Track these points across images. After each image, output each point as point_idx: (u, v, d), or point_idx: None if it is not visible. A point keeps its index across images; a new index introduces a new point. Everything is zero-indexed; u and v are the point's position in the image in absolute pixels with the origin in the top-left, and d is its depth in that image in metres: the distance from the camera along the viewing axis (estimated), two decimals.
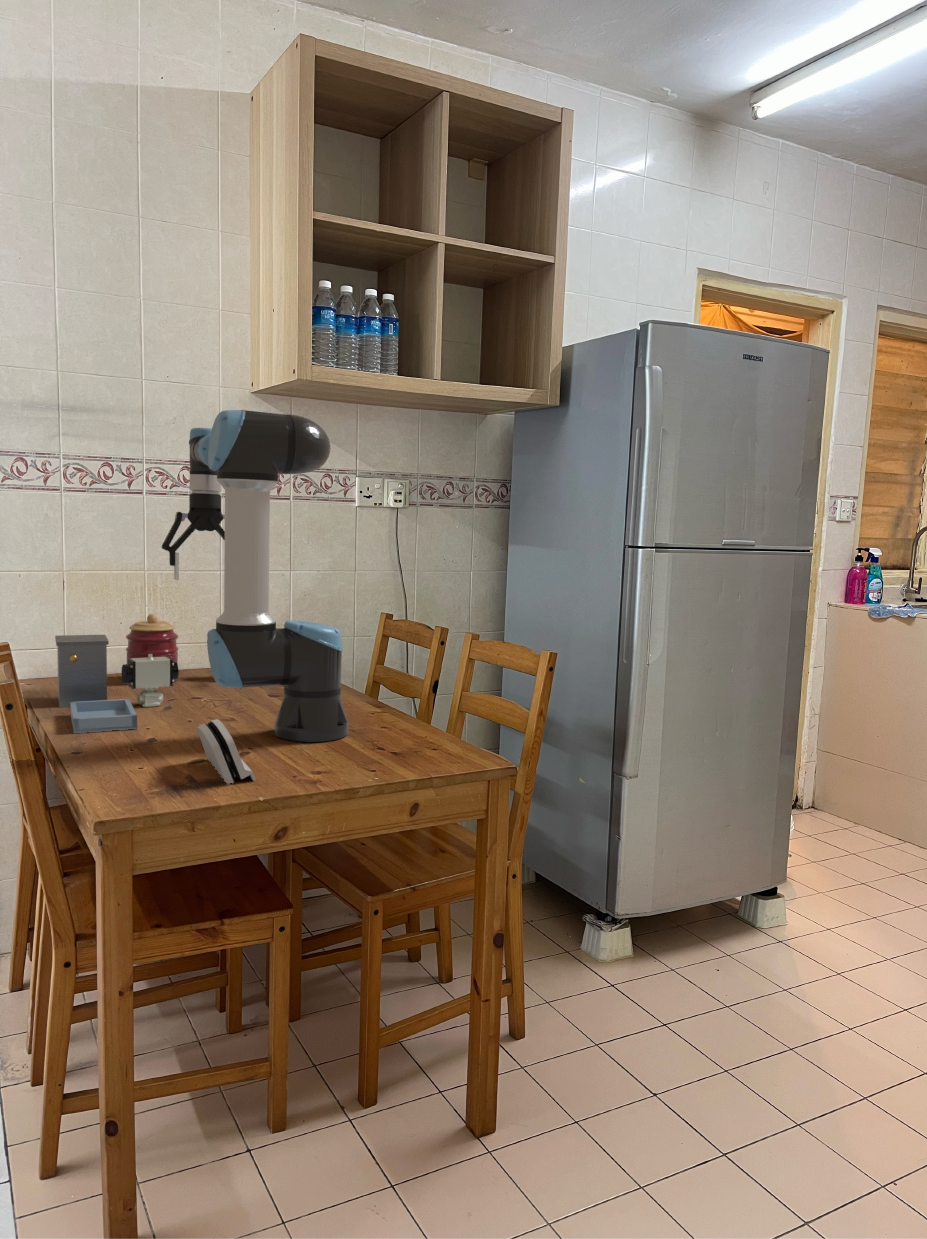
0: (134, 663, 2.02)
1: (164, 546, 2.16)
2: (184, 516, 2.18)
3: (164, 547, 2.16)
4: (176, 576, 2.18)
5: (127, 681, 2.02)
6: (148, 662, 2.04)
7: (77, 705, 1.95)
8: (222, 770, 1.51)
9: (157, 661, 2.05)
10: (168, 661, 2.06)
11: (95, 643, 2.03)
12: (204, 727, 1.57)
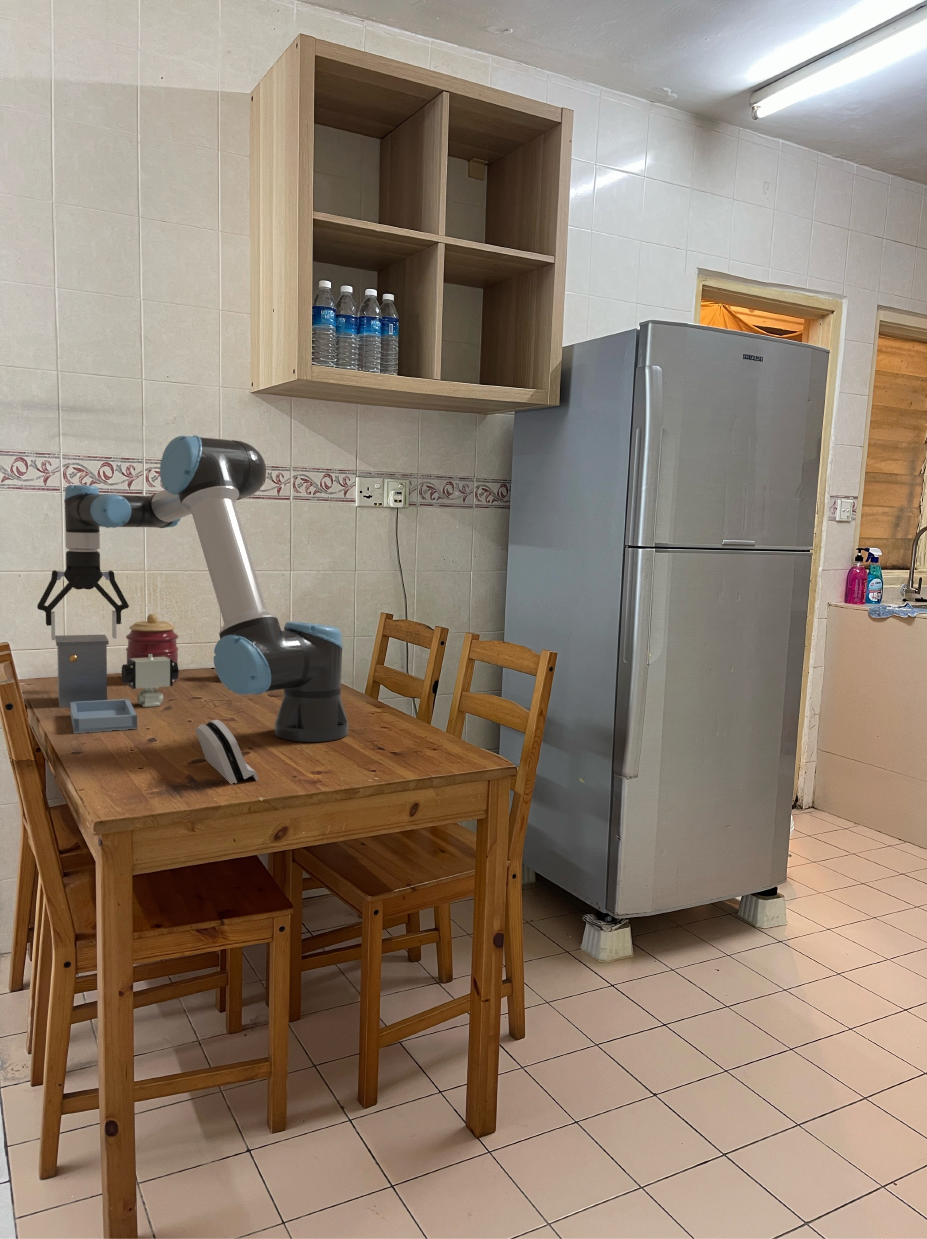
0: (134, 663, 2.02)
1: (39, 606, 2.11)
2: (60, 575, 2.13)
3: (39, 607, 2.11)
4: (52, 636, 2.13)
5: (127, 681, 2.02)
6: (148, 662, 2.04)
7: (77, 705, 1.95)
8: (225, 770, 1.51)
9: (157, 661, 2.05)
10: (168, 661, 2.06)
11: (95, 643, 2.03)
12: (205, 727, 1.57)
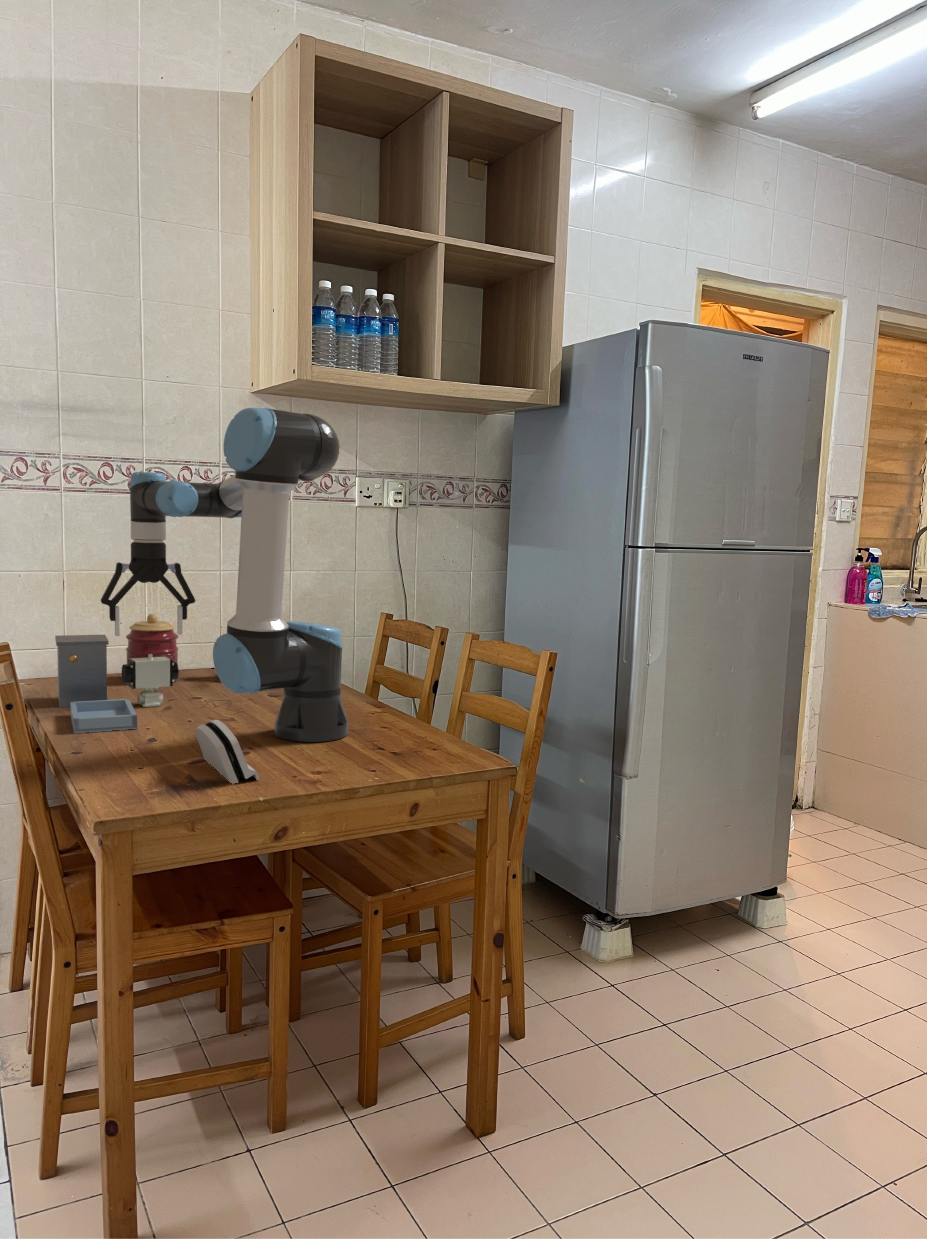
0: (134, 663, 2.02)
1: (103, 600, 2.00)
2: (125, 567, 2.01)
3: (103, 601, 2.00)
4: (116, 632, 2.02)
5: (127, 681, 2.02)
6: (148, 662, 2.04)
7: (77, 705, 1.95)
8: (227, 770, 1.51)
9: (157, 661, 2.05)
10: (168, 661, 2.06)
11: (95, 643, 2.03)
12: (205, 728, 1.57)
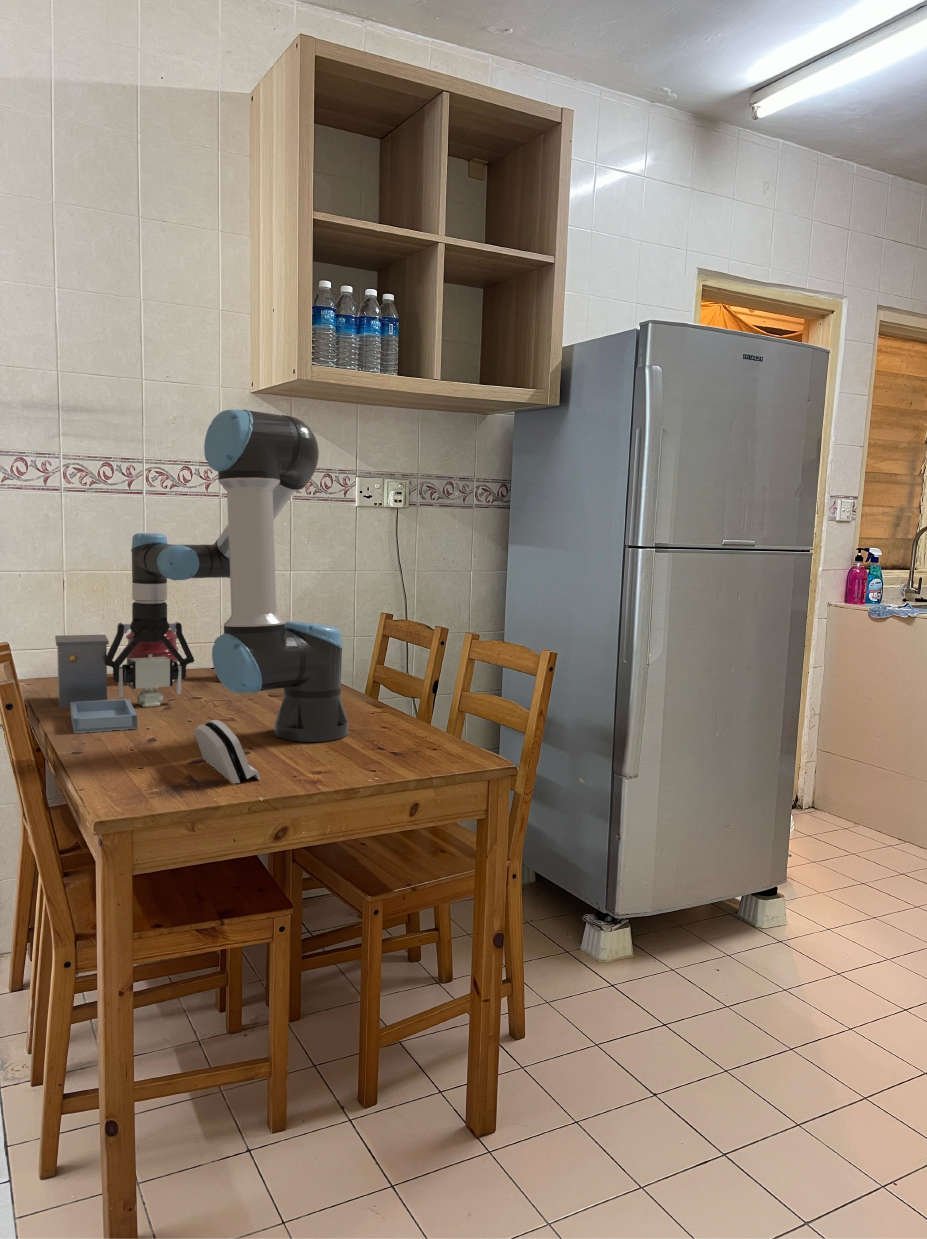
0: (134, 663, 2.02)
1: (106, 662, 2.01)
2: (126, 628, 2.03)
3: (106, 663, 2.01)
4: (120, 693, 2.03)
5: (127, 681, 2.02)
6: (148, 662, 2.04)
7: (77, 705, 1.95)
8: (228, 770, 1.51)
9: (157, 661, 2.05)
10: (168, 661, 2.06)
11: (95, 643, 2.03)
12: (205, 728, 1.57)
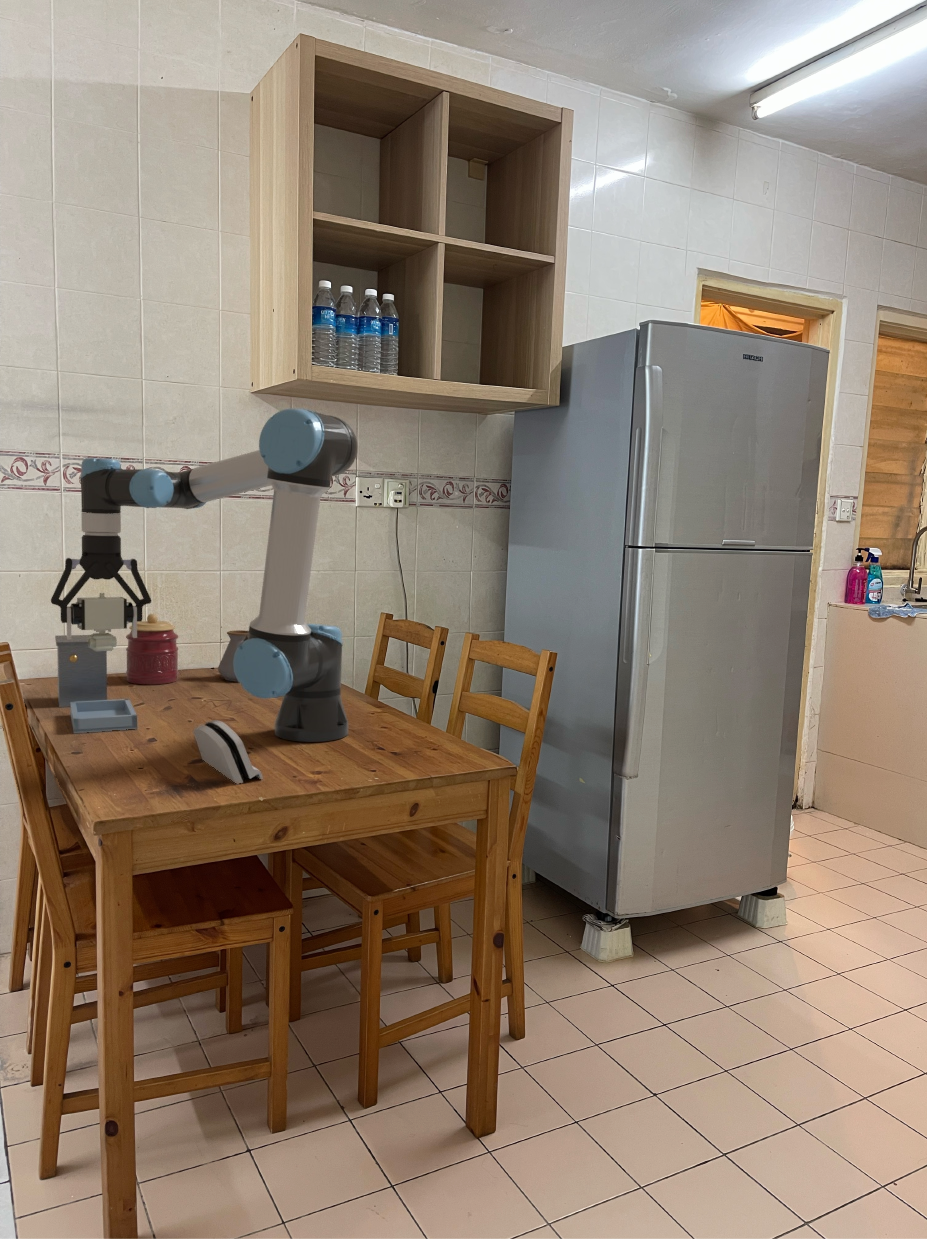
0: (83, 601, 1.83)
1: (53, 600, 1.82)
2: (75, 563, 1.84)
3: (53, 601, 1.82)
4: (68, 635, 1.84)
5: (75, 621, 1.83)
6: (99, 601, 1.85)
7: (77, 705, 1.95)
8: (231, 770, 1.51)
9: (109, 600, 1.86)
10: (122, 601, 1.87)
11: None
12: (206, 728, 1.56)
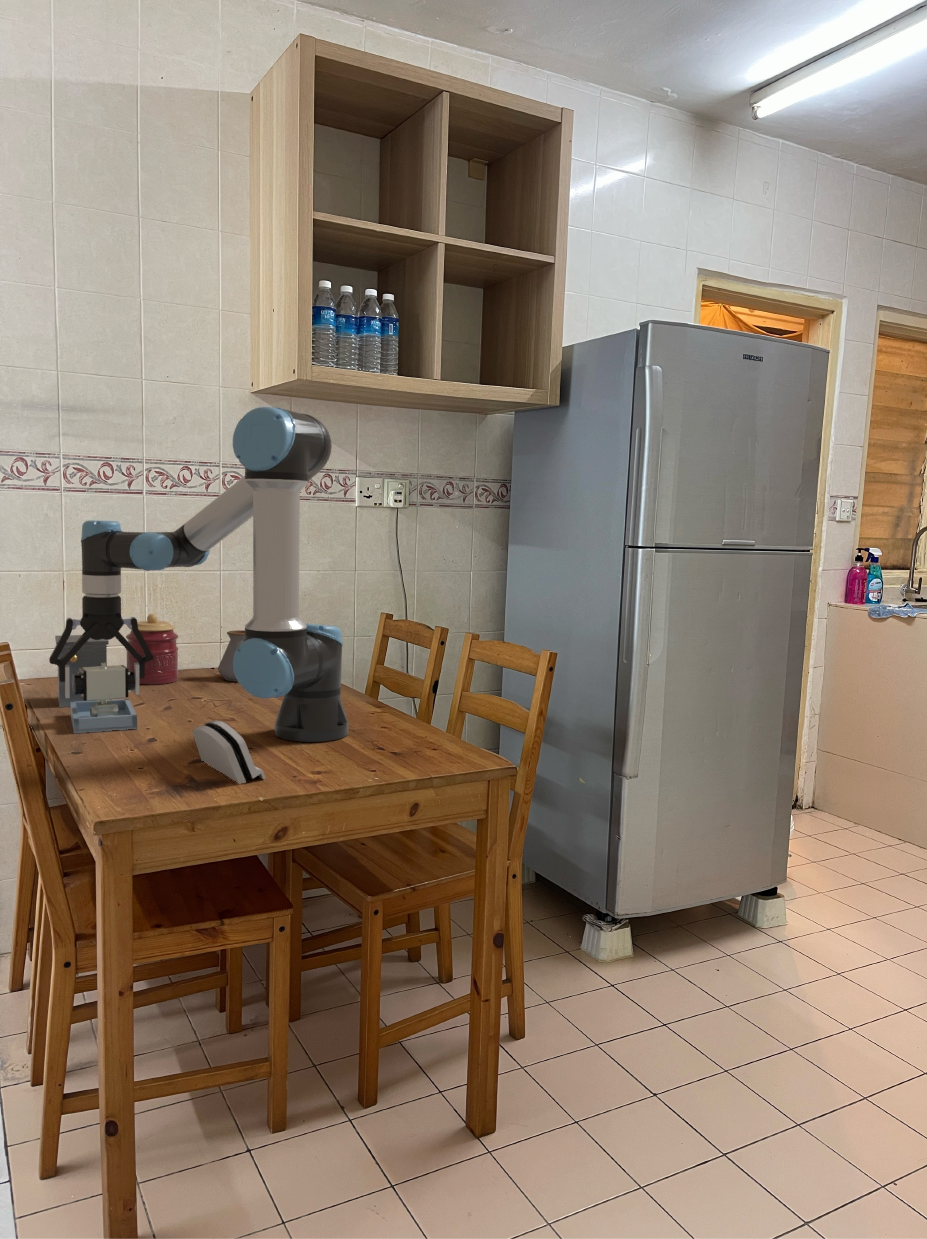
0: (85, 673, 1.84)
1: (51, 660, 1.83)
2: (75, 623, 1.85)
3: (51, 661, 1.83)
4: (66, 694, 1.86)
5: (77, 692, 1.85)
6: (101, 671, 1.86)
7: (77, 705, 1.95)
8: (234, 770, 1.51)
9: (111, 670, 1.87)
10: (123, 670, 1.89)
11: (95, 643, 2.03)
12: (207, 728, 1.56)
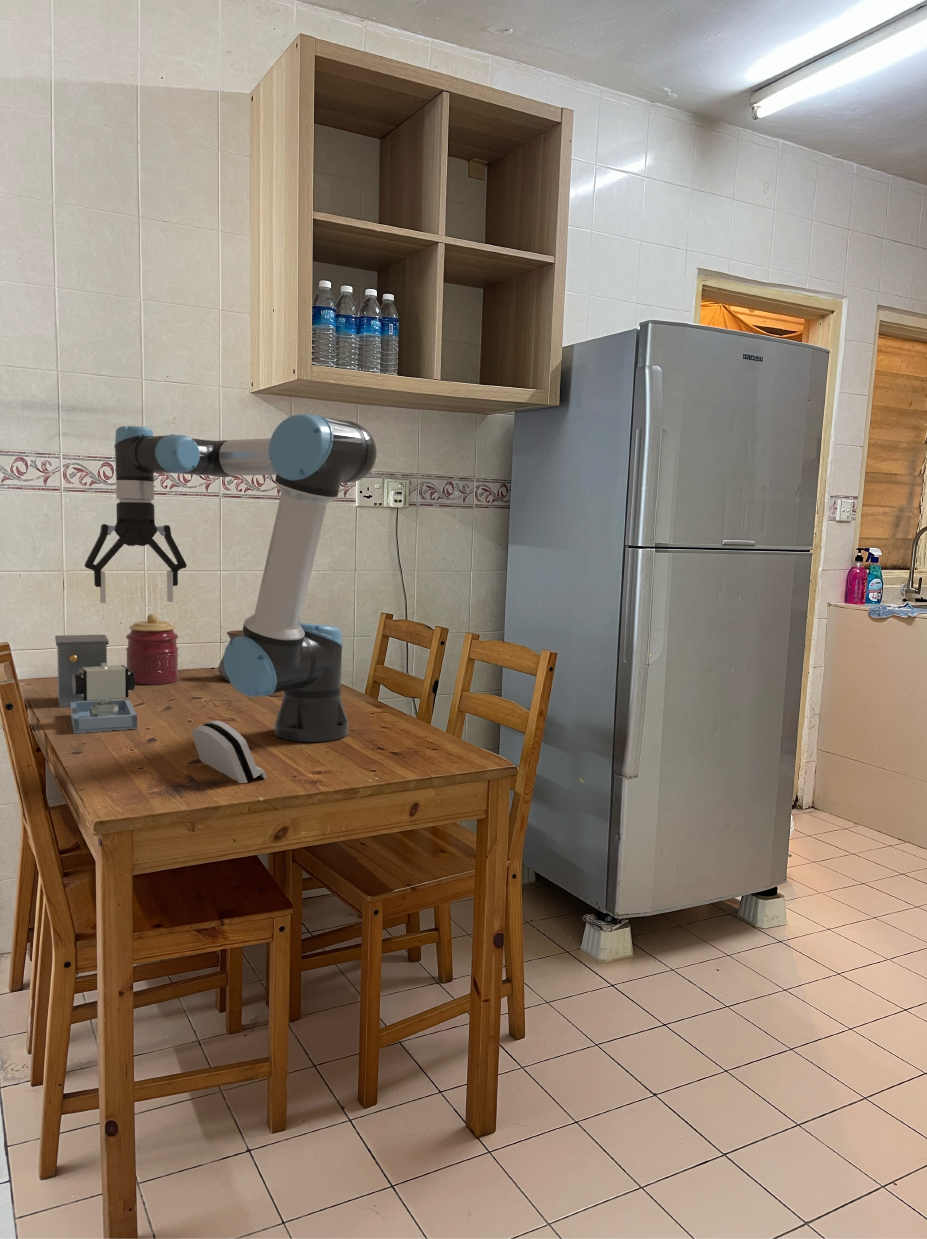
0: (85, 673, 1.84)
1: (87, 564, 1.85)
2: (110, 529, 1.87)
3: (87, 565, 1.85)
4: (102, 599, 1.87)
5: (77, 692, 1.85)
6: (101, 671, 1.86)
7: (77, 705, 1.95)
8: (236, 770, 1.52)
9: (111, 670, 1.87)
10: (123, 670, 1.89)
11: (95, 643, 2.03)
12: (207, 729, 1.56)
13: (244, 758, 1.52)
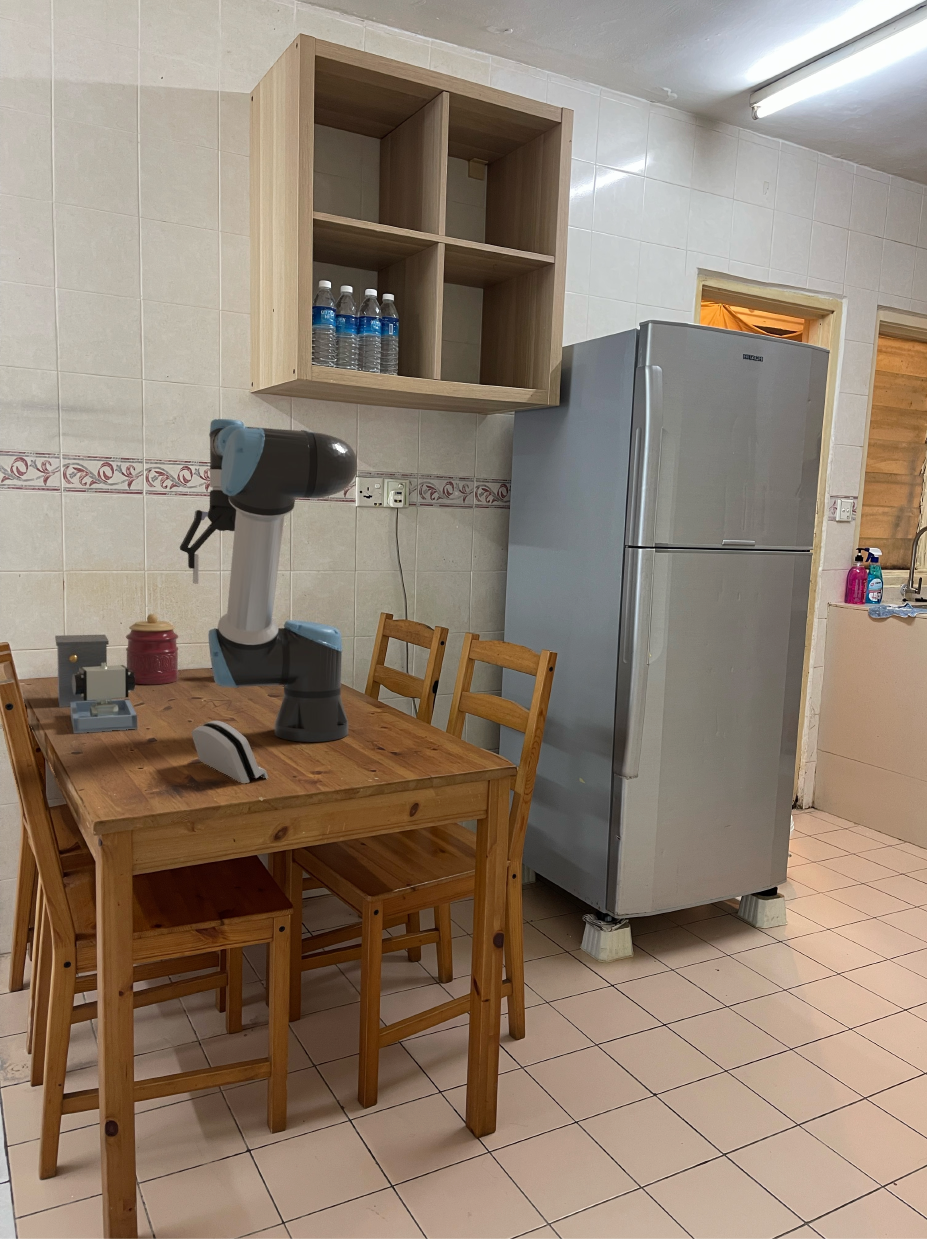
0: (85, 673, 1.85)
1: (183, 547, 2.00)
2: (204, 515, 2.01)
3: (183, 548, 2.00)
4: (195, 580, 2.02)
5: (77, 692, 1.85)
6: (101, 671, 1.86)
7: (77, 705, 1.95)
8: (238, 770, 1.52)
9: (111, 670, 1.87)
10: (123, 670, 1.89)
11: (95, 643, 2.03)
12: (208, 729, 1.56)
13: (246, 758, 1.52)
